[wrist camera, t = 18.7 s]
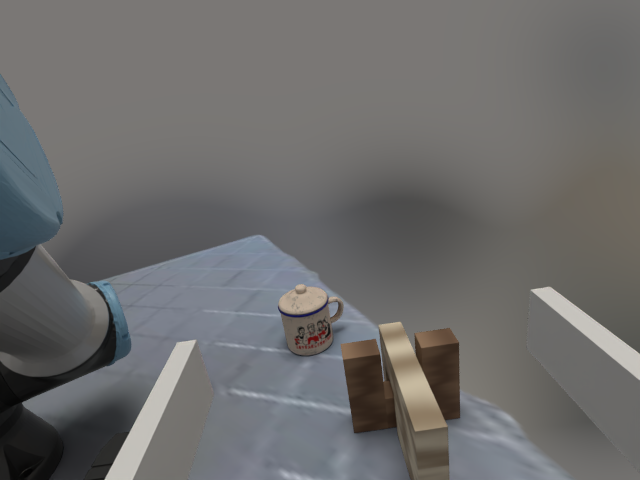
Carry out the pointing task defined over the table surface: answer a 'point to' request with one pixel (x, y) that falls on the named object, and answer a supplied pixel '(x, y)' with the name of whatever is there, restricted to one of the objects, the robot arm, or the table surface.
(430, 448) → the birch board
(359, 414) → the brown wooden u block
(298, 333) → the teacup with lid
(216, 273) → the table surface
